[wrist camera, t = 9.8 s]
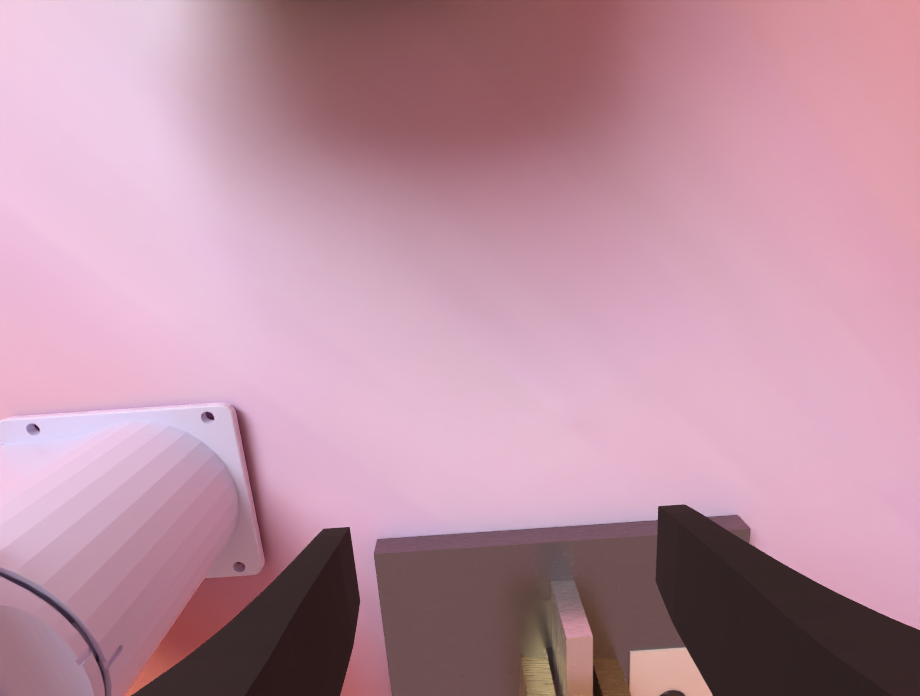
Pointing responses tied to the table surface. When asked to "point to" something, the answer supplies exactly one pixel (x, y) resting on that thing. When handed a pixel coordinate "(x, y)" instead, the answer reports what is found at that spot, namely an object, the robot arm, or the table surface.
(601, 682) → the brass clip
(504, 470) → the table surface
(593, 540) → the plate
